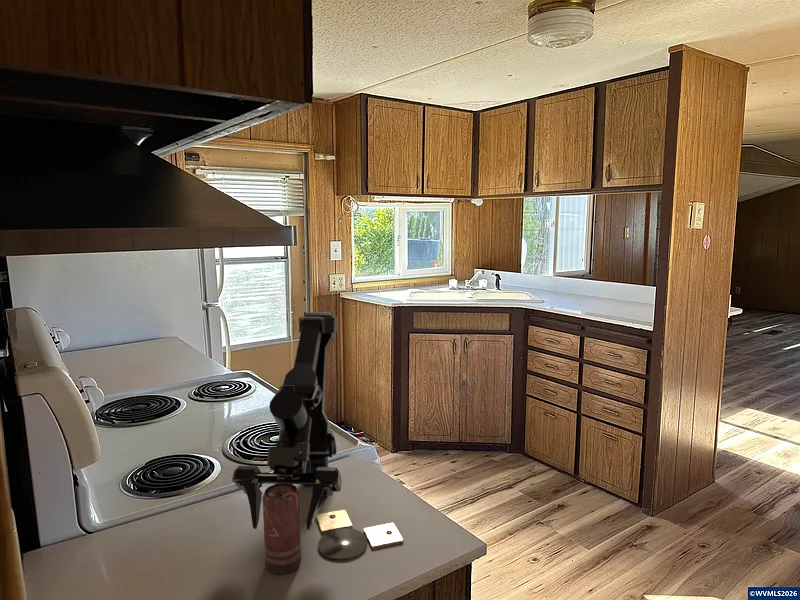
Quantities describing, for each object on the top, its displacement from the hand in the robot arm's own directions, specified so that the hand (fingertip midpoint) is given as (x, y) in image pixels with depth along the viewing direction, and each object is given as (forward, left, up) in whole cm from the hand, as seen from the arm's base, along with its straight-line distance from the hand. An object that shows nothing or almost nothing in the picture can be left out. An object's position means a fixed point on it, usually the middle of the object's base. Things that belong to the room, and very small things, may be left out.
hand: (281, 529), depth 94 cm
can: (-1, 0, -8) cm, 8 cm away
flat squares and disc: (-6, +15, -7) cm, 18 cm away
